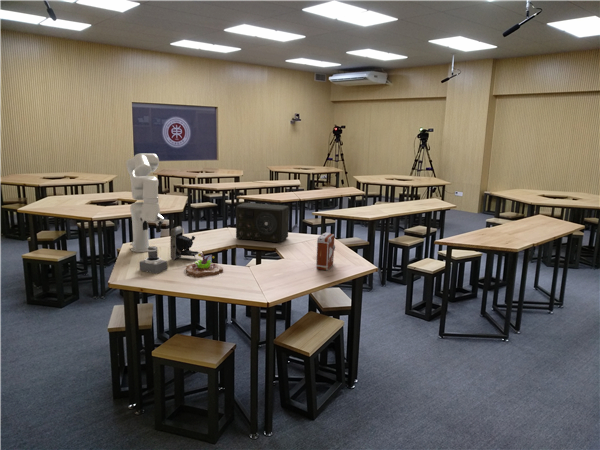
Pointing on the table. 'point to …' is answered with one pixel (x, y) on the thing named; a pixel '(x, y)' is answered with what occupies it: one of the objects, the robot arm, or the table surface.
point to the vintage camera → (180, 244)
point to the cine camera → (325, 251)
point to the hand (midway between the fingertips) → (151, 230)
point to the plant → (203, 268)
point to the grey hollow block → (153, 265)
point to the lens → (152, 253)
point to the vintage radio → (262, 222)
